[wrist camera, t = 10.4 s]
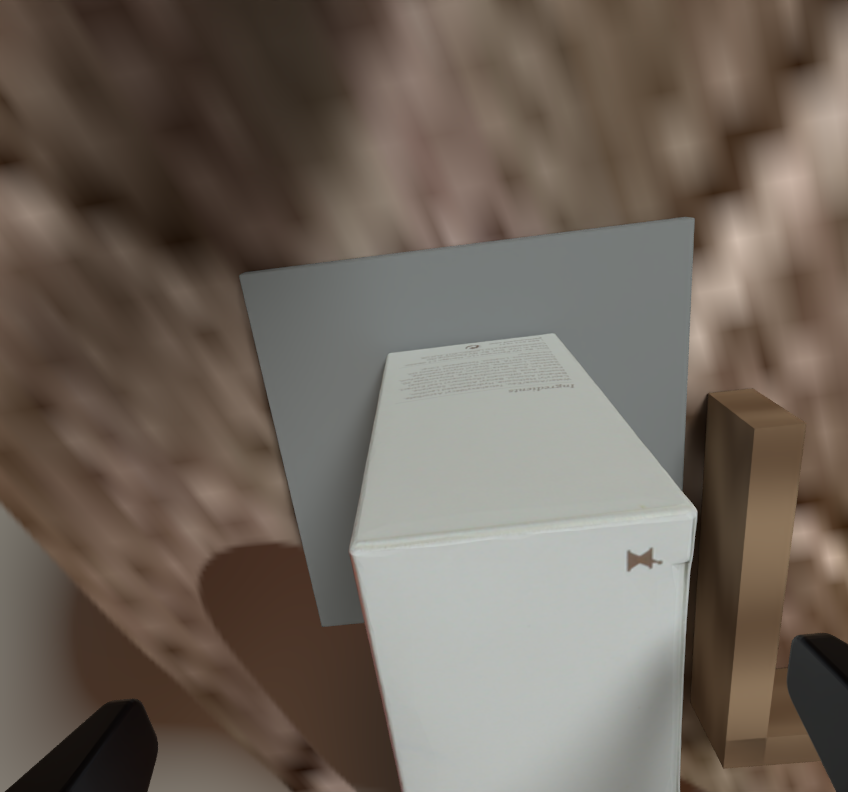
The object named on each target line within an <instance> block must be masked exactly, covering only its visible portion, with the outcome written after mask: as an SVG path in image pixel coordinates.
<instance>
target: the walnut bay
mask: <svg viewBox="0 0 848 792" xmlns="http://www.w3.org/2000/svg"><path fill="white" fill-rule="evenodd" d="M805 431H806V423H805V422H804V421H802V420H800V419H799V418H797V417H796V416H794V415H793V414H791V413H790V412H788V411H787V410H785V409H784V408H782V407H780V406H779V405H777V404H776V403H774V402H773V401H771V400H770V399H768V398H767V397H765V396H764V395H762V394H760V393H759V392H757V391H756V390H754V389H753V388H752V389H742V390H733V391H724V392H715V393H708V408H707V425H706V442H705V459H704V476H703V494H702V511H701V528H700V545H699V562H698V579H697V596H696V613H695V630H694V647H693V664H692V681H691V699H690V702H691V704H692V706H693V708H694V711H695V713H696V715H697V717H698V719H699V721H700V723H701V725H702V727H703V729H704V731H705V733H706V735H707V737H708V739H709V741H710V743H711V745H712V747H713V749H714V751H715V753H716V755H717V757H718V759H719V761H720V763H721V765H722V767H723V769H725V768H738V767H750V766H763V765H776V764H789V763H802V762H815V761H821V760H820V758H819V756H818V754H817V751H816V749H815V747H814V745H813V743H812V741H811V739H810V737H809V735H808V733H807V731H806V729H805V727H804V725H803V723H802V721H801V719H800V717H799V715H798V713H797V711H796V709H795V707H794V705H793V703H792V700H791V698H790V696H789V693H788V689H787V672H788V668H781V669H775V668H776V660H777V652H778V644H779V636H780V628H781V620H782V612H783V605H784V597H785V589H786V581H787V573H788V565H789V557H790V549H791V541H792V533H793V526H794V518H795V510H796V502H797V494H798V486H799V478H800V470H801V462H802V454H803V447H804V439H805Z"/></svg>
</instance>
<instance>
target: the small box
mask: <svg viewBox="0 0 848 792" xmlns="http://www.w3.org/2000/svg"><path fill="white" fill-rule="evenodd" d="M697 513H698V512H697V510H696V508H695V506H694V505H693V504H692V502H691V501H690V500H689V499H688V498H687V497H686V495H685V494H684V493H683V492H682V491H681V490H680V488H679V487H678V486H677V485H676V483H675V482H674V481H673V480H672V478H671V477H670V476H669V474H668V473H667V472H666V471H665V470H664V468H663V467H662V466H661V465H660V463H659V462H658V461H657V460H656V458H655V457H654V456H653V455H652V453H651V452H650V451H649V450H648V448H647V447H646V446H645V445H644V444H643V443H642V441H641V440H640V439H639V438H638V436H637V435H636V434H635V432H634V431H633V430H632V429H631V427H630V426H629V425H628V424H627V422H626V421H625V420H624V419H623V417H622V416H621V415H620V414H619V412H618V411H617V410H616V408H615V407H614V406H613V405H612V404H611V402H610V401H609V400H608V398H607V397H606V396H605V395H604V393H603V392H602V391H601V390H600V388H599V387H598V386H597V385H596V384H595V382H594V381H593V380H592V379H591V377H590V376H589V375H588V374H587V372H586V371H585V370H584V369H583V367H582V366H581V365H580V364H579V362H578V361H577V360H576V359H575V357H574V356H573V355H572V354H571V353H570V352H569V350H568V349H567V348H566V347H565V345H564V344H563V343H562V342H561V341H560V339H559V338H558V337H557V336H556V335H555V334H554V333H550V334H543V335H536V336H527V337H518V338H510V339H502V340H493V341H485V342H477V343H468V344H460V345H452V346H444V347H436V348H428V349H419V350H411V351H403V352H395V353H389V354H388V355H387V358H386V363H385V368H384V373H383V378H382V383H381V388H380V393H379V398H378V404H377V409H376V415H375V419H374V424H373V429H372V435H371V440H370V445H369V450H368V455H367V461H366V466H365V471H364V476H363V482H362V487H361V492H360V497H359V502H358V507H357V512H356V517H355V522H354V527H353V533H352V537H351V541H350V546H349V551H348V552H349V555H350V559H351V563H352V568H353V572H354V577H355V582H356V586H357V591H358V596H359V600H360V605H361V609H362V614H363V618H364V623H365V627H366V632H367V636H368V640H369V645H370V649H371V654H372V658H373V663H374V668H375V672H376V677H377V682H378V686H379V691H380V696H381V700H382V705H383V709H384V713H385V718H386V723H387V728H388V732H389V737H390V741H391V746H392V750H393V755H394V759H395V764H396V768H397V773H398V778H399V783H400V787H401V792H680V757H681V725H682V705H683V682H684V662H685V640H686V622H687V609H688V595H689V582H690V570H691V564H692V559H693V552H694V541H695V532H696V525H697Z"/></svg>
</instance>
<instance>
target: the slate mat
mask: <svg viewBox="0 0 848 792" xmlns="http://www.w3.org/2000/svg"><path fill="white" fill-rule="evenodd" d="M693 241H694V218H689V217H682V218H674V219H666V220H658V221H650V222H642V223H634V224H626V225H618V226H610V227H602V228H594V229H586V230H578V231H570V232H562V233H554V234H546V235H538V236H530V237H522V238H514V239H506V240H498V241H490V242H482V243H474V244H466V245H458V246H450V247H442V248H434V249H426V250H418V251H410V252H403V253H395V254H387V255H379V256H371V257H363V258H355V259H347V260H339V261H331V262H323V263H315V264H307V265H299V266H291V267H283V268H275V269H267V270H259V271H251V272H244V273H242V274H240V275H239V278H240V282H241V286H242V290H243V295H244V299H245V303H246V307H247V312H248V316H249V320H250V324H251V328H252V333H253V337H254V341H255V345H256V350H257V354H258V358H259V362H260V367H261V371H262V375H263V379H264V383H265V388H266V392H267V396H268V400H269V405H270V409H271V413H272V417H273V422H274V426H275V430H276V434H277V439H278V443H279V447H280V451H281V455H282V460H283V464H284V468H285V472H286V477H287V481H288V485H289V489H290V494H291V498H292V502H293V506H294V510H295V515H296V519H297V523H298V527H299V532H300V536H301V540H302V544H303V549H304V553H305V557H306V561H307V565H308V570H309V574H310V578H311V582H312V587H313V591H314V595H315V599H316V604H317V608H318V612H319V616H320V620H321V625H322V627H325V626H336V625H346V624H357V623H364V618H363V614H362V609H361V605H360V600H359V596H358V591H357V586H356V582H355V577H354V572H353V568H352V563H351V559H350V555H349V552H348V551H349V546H350V541H351V537H352V533H353V527H354V522H355V517H356V512H357V507H358V502H359V497H360V492H361V487H362V482H363V476H364V471H365V466H366V461H367V455H368V450H369V445H370V440H371V435H372V429H373V424H374V419H375V415H376V409H377V404H378V398H379V393H380V388H381V383H382V378H383V373H384V368H385V363H386V358H387V355H388V354H389V353H395V352H403V351H411V350H419V349H428V348H436V347H444V346H452V345H460V344H468V343H477V342H485V341H493V340H502V339H510V338H518V337H527V336H536V335H543V334H550V333H554V334H555V335H556V336H557V337H558V338H559V339H560V341H561V342H562V343H563V344H564V345H565V347H566V348H567V349H568V350H569V352H570V353H571V354H572V355H573V356H574V357H575V359H576V360H577V361H578V362H579V364H580V365H581V366H582V367H583V369H584V370H585V371H586V372H587V374H588V375H589V376H590V377H591V379H592V380H593V381H594V382H595V384H596V385H597V386H598V387H599V388H600V390H601V391H602V392H603V393H604V395H605V396H606V397H607V398H608V400H609V401H610V402H611V404H612V405H613V406H614V407H615V408H616V410H617V411H618V412H619V414H620V415H621V416H622V417H623V419H624V420H625V421H626V422H627V424H628V425H629V426H630V427H631V429H632V430H633V431H634V432H635V434H636V435H637V436H638V438H639V439H640V440H641V441H642V443H643V444H644V445H645V446H646V447H647V448H648V450H649V451H650V452H651V453H652V455H653V456H654V457H655V458H656V460H657V461H658V462H659V463H660V465H661V466H662V467H663V468H664V470H665V471H666V472H667V473H668V474H669V476H670V477H671V478H672V480H673V481H674V482H675V483H676V485H677V486H678V487H679V488H680V490H681V491H682V490H683V468H684V445H685V422H686V400H687V377H688V354H689V332H690V309H691V286H692V264H693Z"/></svg>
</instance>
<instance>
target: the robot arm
mask: <svg viewBox="0 0 848 792" xmlns="http://www.w3.org/2000/svg"><path fill="white" fill-rule="evenodd" d="M787 689H788V693H789V696H790V698H791V700H792V703H793V705H794V707H795V709H796V711H797V713H798V715H799V717H800V719H801V721H802V723H803V725H804V727H805V729H806V731H807V733H808V735H809V737H810V739H811V741H812V743H813V745H814V747H815V749H816V751H817V754H818V756H819V758H820V760H821V762H822V764H823V766H824V768H825V770H826V772H827V774H828V776H829V778H830V780H831V782H832V784H833V786H834V788H835V790H836V792H848V644H847V643H845V642H843V641H842V640H840V639H838V638H837V637H835V636H833V635H830V634H827V633H815V634H804V635H798V636H796V637H795V638H794V639H793V640H792V644H791V650H790V657H789V665H788V672H787ZM157 752H158V742H157V736H156V734H155V731H154V729H153V727H152V724H151V722H150V720H149V718H148V715H147V713H146V711H145V708H144V706H143V704H142V703H141V702H140V701H139V700H138V699H124V700H114V701H110V702H108V703H106V704H104V705H103V706H102V707H101V708H99V709H98V710H97V711H96V712H95V713H94V714H93V715H92V716H90V717H89V718H88V719H87V720H86V721H85V722H84V723H82V724H81V725H80V726H79V727H78V728H77V729H76V730H74V731H73V732H72V733H71V734H70V735H69V736H68V737H66V738H65V739H64V740H63V741H62V742H61V743H60V744H59V745H57V746H56V747H55V748H54V749H53V750H52V751H51V752H50V753H48V754H47V755H46V756H45V757H44V758H43V759H42V760H40V761H39V763H37V764H36V765H35V766H34V767H32V768H31V769H30V770H29V771H28V772H27V773H26V774H24V775H23V776H22V777H21V778H20V779H19V780H18V781H17V782H15V783H14V784H13V785H12V786H11V787H10V788H9V789H7V790H6V791H5V792H147V791H148V787H149V784H150V780H151V776H152V773H153V769H154V765H155V762H156V757H157Z"/></svg>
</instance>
